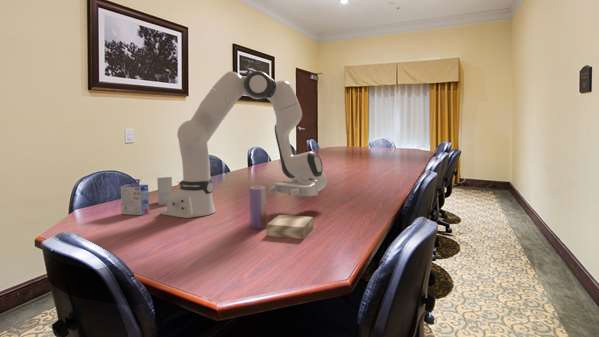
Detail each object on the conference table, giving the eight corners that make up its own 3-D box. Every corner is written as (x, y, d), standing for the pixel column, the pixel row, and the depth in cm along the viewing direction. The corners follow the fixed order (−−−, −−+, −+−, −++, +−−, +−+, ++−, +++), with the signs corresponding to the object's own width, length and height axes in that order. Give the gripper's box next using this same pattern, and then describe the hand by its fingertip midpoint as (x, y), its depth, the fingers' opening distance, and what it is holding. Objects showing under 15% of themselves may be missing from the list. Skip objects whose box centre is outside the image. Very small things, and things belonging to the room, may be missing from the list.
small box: (173, 204, 170) (171, 177, 168) (158, 205, 168) (156, 177, 166) (172, 200, 177) (171, 174, 176) (158, 201, 175) (157, 175, 174)
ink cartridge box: (150, 212, 155) (148, 179, 153) (142, 215, 150) (140, 181, 148) (130, 211, 157) (127, 178, 155) (121, 214, 152) (119, 180, 150)
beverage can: (253, 230, 129) (252, 189, 127) (248, 226, 134) (247, 186, 132) (269, 228, 131) (268, 187, 129) (263, 224, 137) (262, 184, 135)
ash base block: (266, 235, 123) (266, 224, 122) (279, 225, 135) (279, 214, 135) (303, 239, 119) (303, 227, 119) (313, 227, 132) (313, 217, 131)
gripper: (281, 176, 158) (260, 181, 147) (321, 180, 146) (300, 185, 135) (281, 190, 158) (260, 196, 147) (321, 195, 147) (301, 202, 135)
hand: (280, 191), depth 141 cm, fingers open, 8 cm apart
